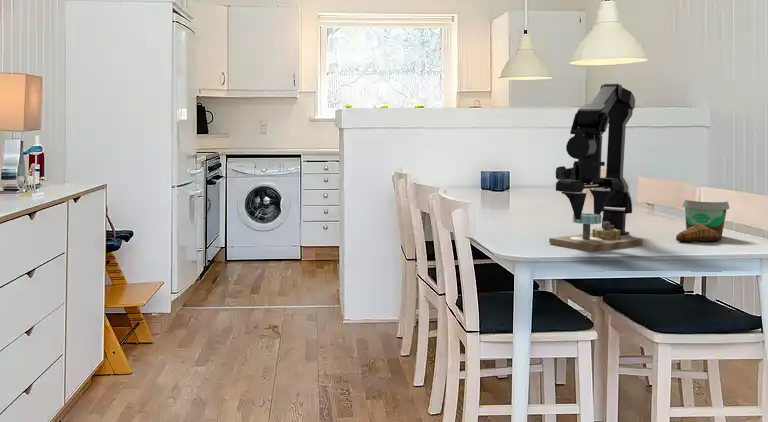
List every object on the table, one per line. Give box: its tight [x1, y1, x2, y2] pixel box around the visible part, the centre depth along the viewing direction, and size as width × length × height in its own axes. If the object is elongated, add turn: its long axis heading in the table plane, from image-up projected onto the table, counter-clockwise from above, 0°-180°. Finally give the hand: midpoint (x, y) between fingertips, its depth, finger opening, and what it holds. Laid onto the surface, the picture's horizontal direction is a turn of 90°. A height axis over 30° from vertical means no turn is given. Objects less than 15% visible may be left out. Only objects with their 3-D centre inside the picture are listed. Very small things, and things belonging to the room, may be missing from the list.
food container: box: [682, 199, 730, 236], centre depth 217 cm, size 12×6×10 cm, turn 68°
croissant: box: [675, 224, 723, 243], centre depth 208 cm, size 14×7×5 cm, turn 104°
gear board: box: [548, 222, 644, 252], centre depth 201 cm, size 20×14×6 cm
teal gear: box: [572, 212, 602, 225], centre depth 198 cm, size 7×7×2 cm
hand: (587, 218), depth 198 cm, fingers closed on teal gear, 7 cm apart
